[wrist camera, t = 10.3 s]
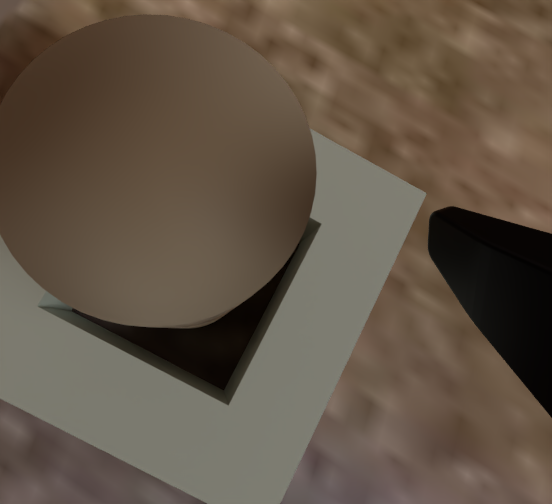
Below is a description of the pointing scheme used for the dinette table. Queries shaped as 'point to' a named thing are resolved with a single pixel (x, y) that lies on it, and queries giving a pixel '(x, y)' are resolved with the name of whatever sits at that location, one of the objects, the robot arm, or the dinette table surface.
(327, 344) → the socket block
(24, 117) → the birch peg
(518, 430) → the dinette table surface
